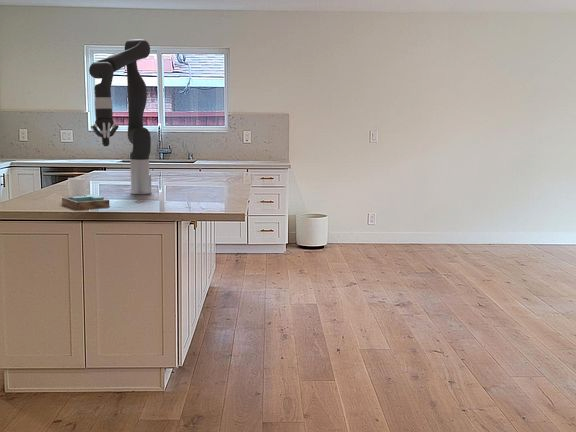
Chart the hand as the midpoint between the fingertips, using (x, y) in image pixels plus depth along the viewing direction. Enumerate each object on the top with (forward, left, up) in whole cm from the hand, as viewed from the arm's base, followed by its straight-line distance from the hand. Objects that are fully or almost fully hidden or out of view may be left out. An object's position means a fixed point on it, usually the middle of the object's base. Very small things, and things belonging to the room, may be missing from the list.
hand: (105, 146), depth 281 cm
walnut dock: (+14, +12, -25) cm, 31 cm away
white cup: (+11, -7, -25) cm, 28 cm away
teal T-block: (+15, +12, -25) cm, 32 cm away
